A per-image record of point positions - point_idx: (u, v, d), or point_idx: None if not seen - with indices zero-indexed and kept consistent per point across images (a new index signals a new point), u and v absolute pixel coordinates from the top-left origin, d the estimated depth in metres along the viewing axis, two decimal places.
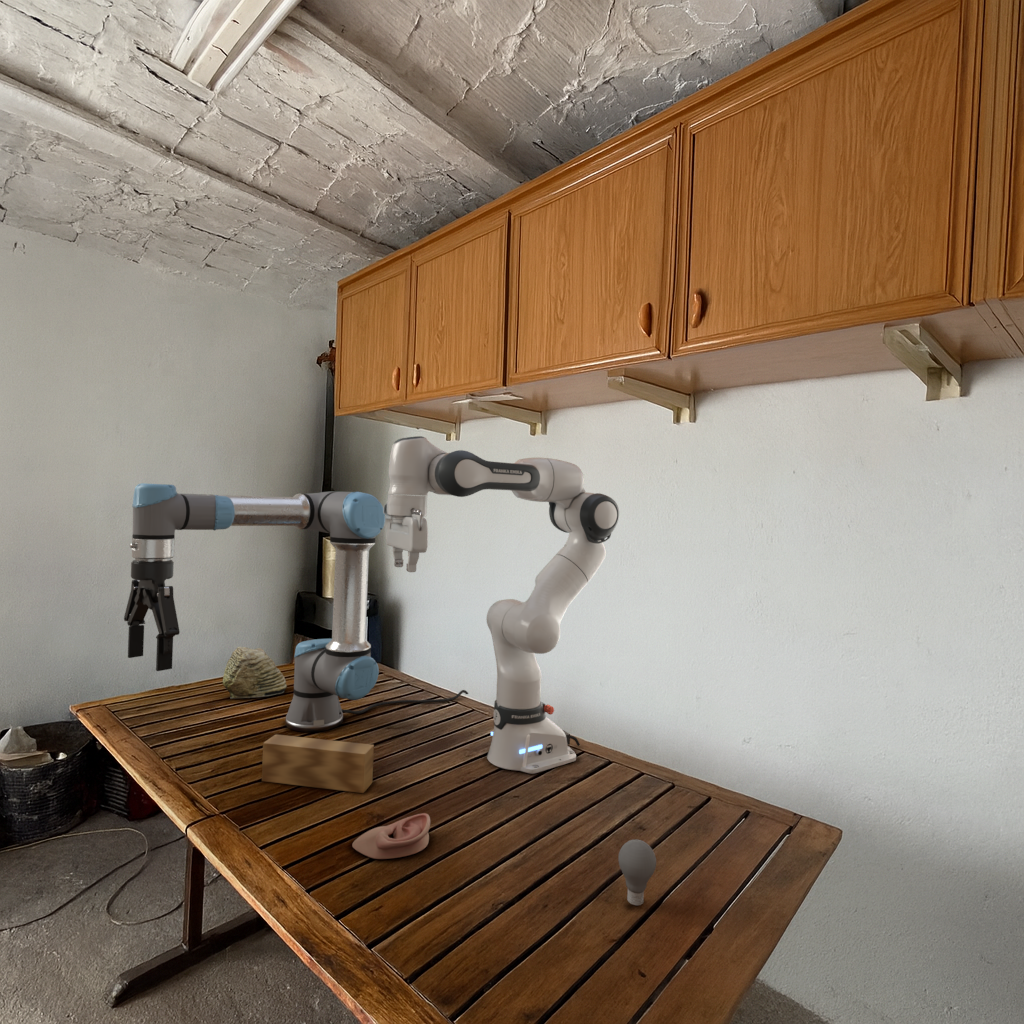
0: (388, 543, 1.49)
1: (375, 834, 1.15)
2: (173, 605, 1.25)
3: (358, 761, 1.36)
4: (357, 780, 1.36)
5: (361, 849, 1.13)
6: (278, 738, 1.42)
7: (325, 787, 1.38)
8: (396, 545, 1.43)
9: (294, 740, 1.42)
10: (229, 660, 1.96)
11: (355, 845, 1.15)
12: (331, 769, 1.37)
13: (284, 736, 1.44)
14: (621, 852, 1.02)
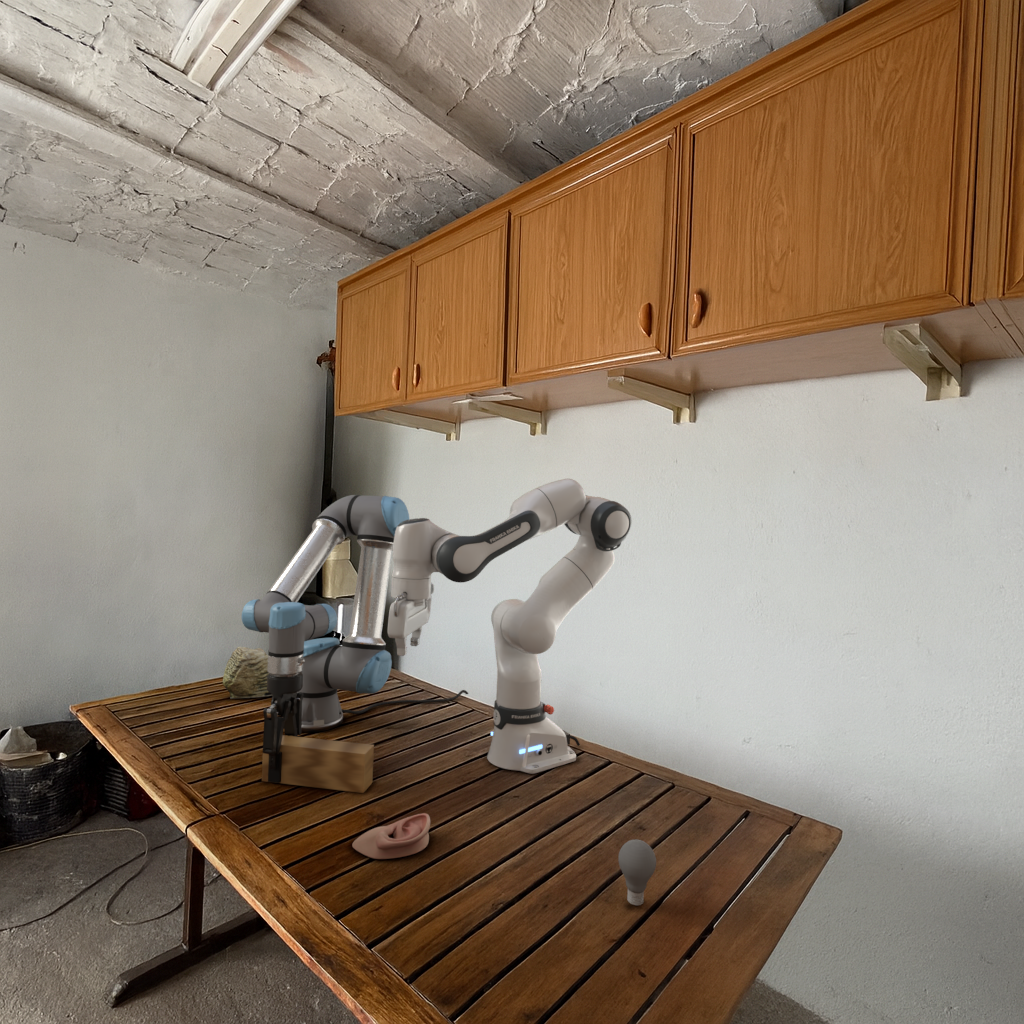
0: None
1: (375, 834, 1.15)
2: None
3: (358, 761, 1.36)
4: (357, 780, 1.36)
5: (361, 849, 1.13)
6: None
7: (325, 787, 1.38)
8: None
9: (294, 740, 1.42)
10: (229, 660, 1.96)
11: (355, 845, 1.15)
12: (331, 769, 1.37)
13: (284, 736, 1.44)
14: (621, 852, 1.02)
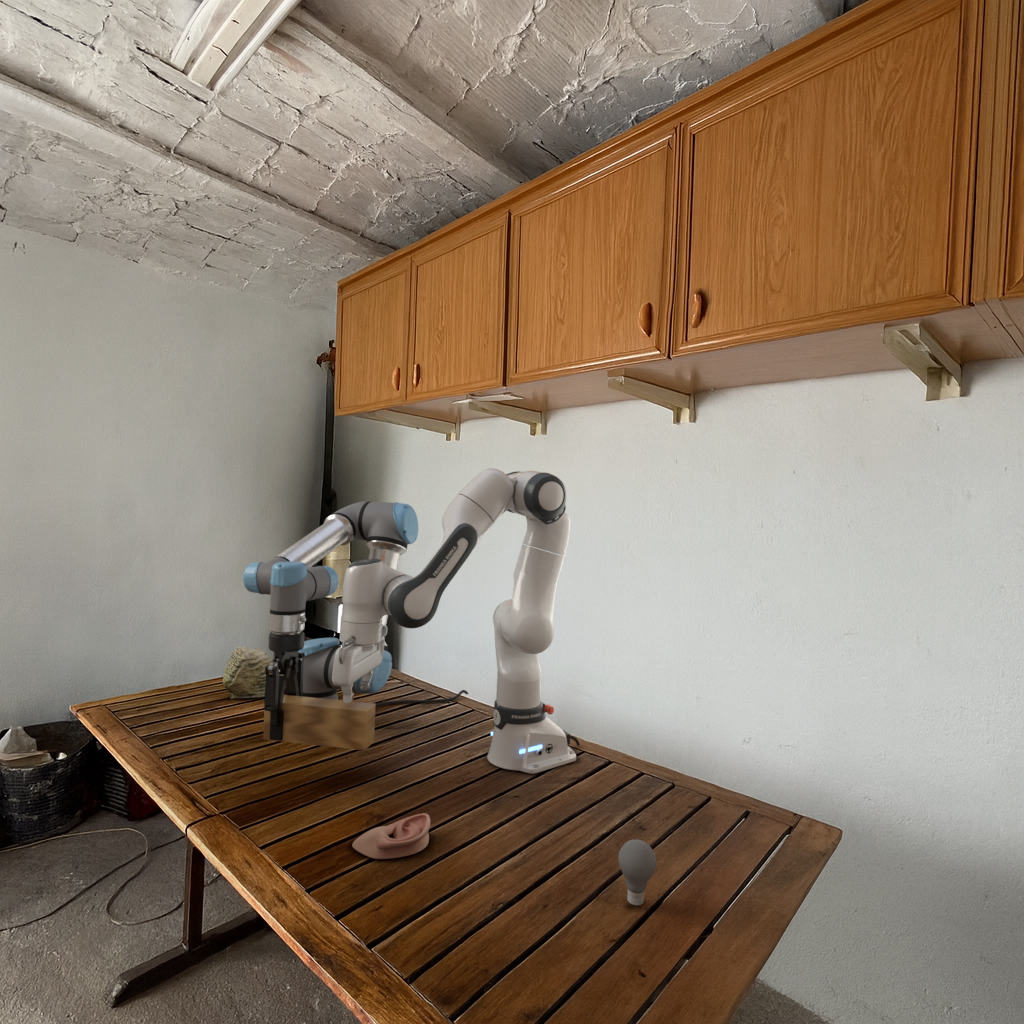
0: None
1: (375, 834, 1.15)
2: None
3: (360, 718, 1.36)
4: (359, 737, 1.36)
5: (361, 849, 1.13)
6: None
7: (327, 745, 1.37)
8: None
9: (296, 699, 1.41)
10: (229, 660, 1.96)
11: (355, 845, 1.15)
12: (332, 726, 1.37)
13: (286, 696, 1.44)
14: (621, 852, 1.02)
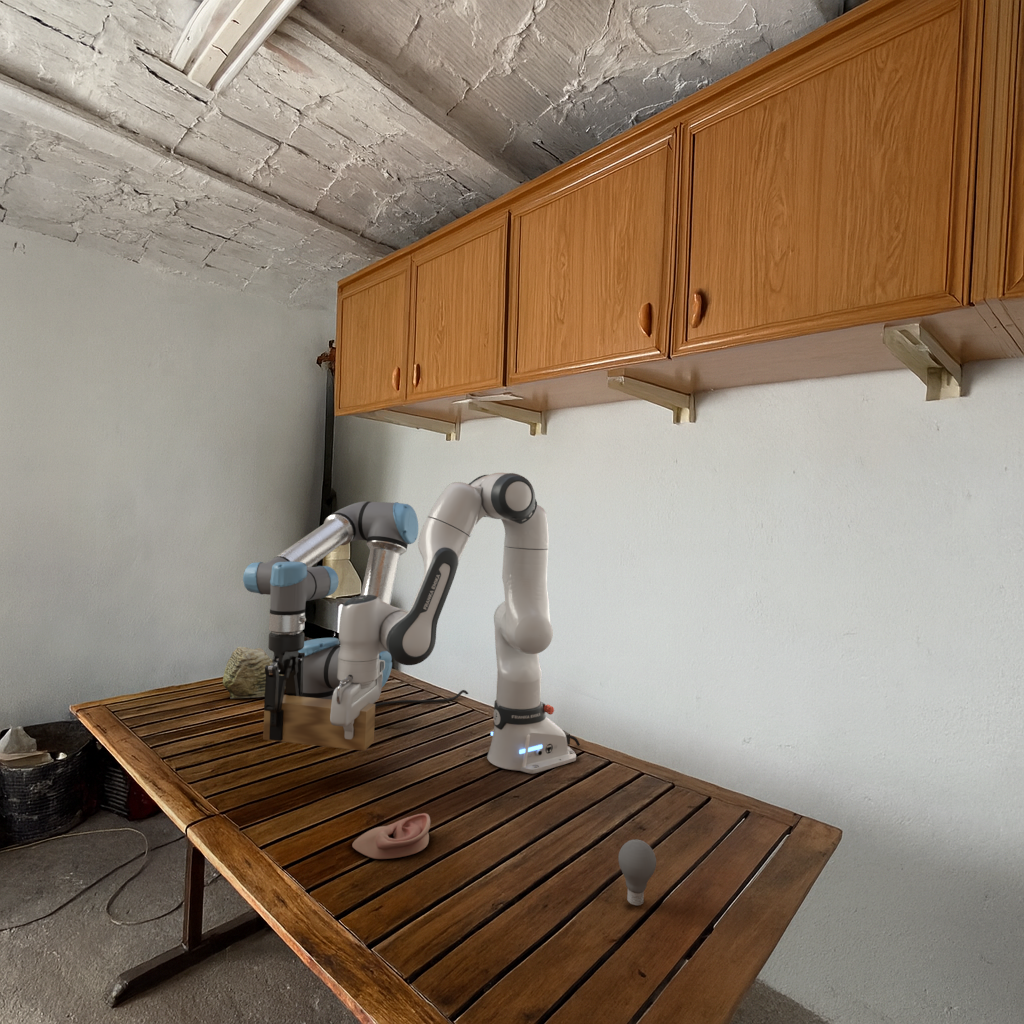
0: None
1: (375, 834, 1.15)
2: None
3: (359, 719, 1.36)
4: (358, 738, 1.36)
5: (361, 849, 1.13)
6: None
7: (326, 745, 1.37)
8: None
9: (296, 699, 1.41)
10: (229, 660, 1.96)
11: (355, 845, 1.15)
12: (332, 727, 1.37)
13: (285, 696, 1.44)
14: (621, 852, 1.02)
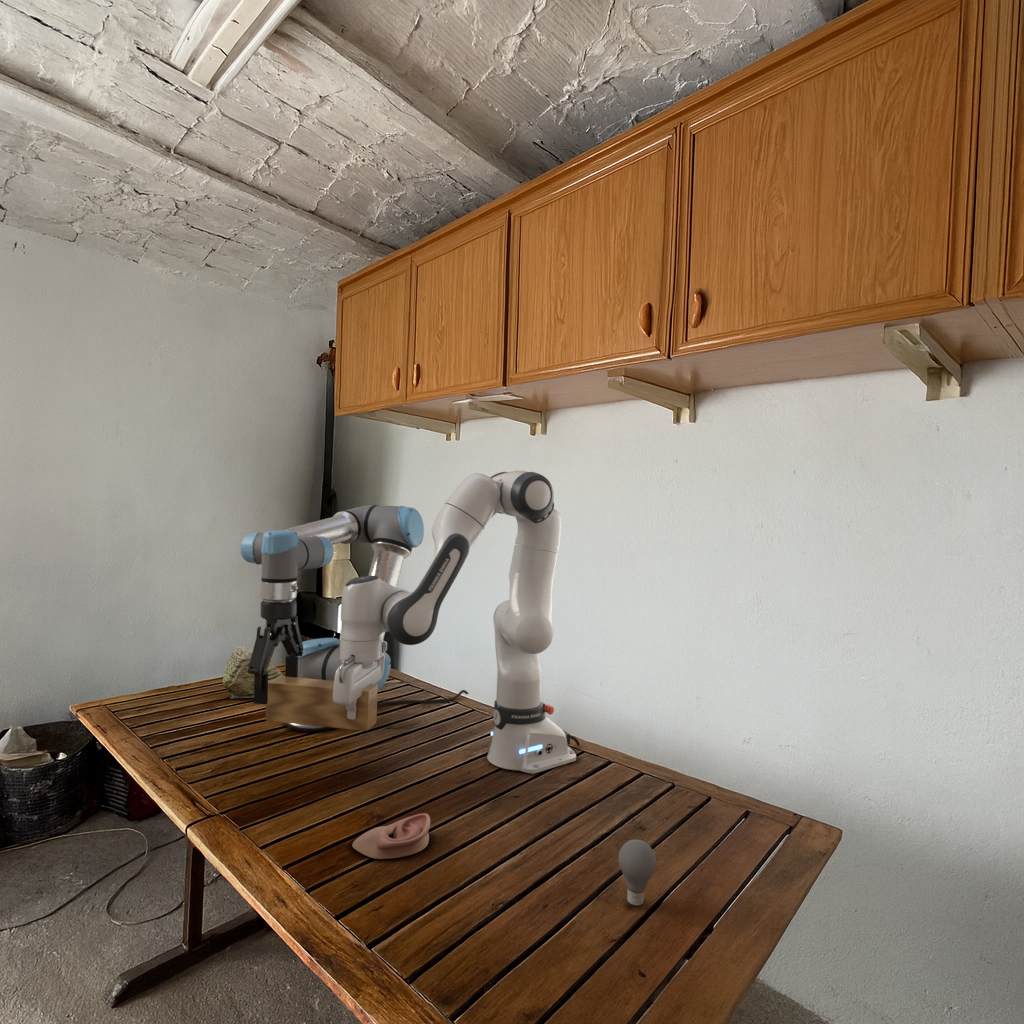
0: None
1: (375, 834, 1.15)
2: None
3: (362, 699, 1.36)
4: (361, 718, 1.36)
5: (361, 849, 1.13)
6: (282, 679, 1.42)
7: (329, 725, 1.37)
8: None
9: (298, 680, 1.41)
10: (229, 660, 1.96)
11: (355, 845, 1.15)
12: (335, 707, 1.37)
13: (288, 677, 1.44)
14: (621, 852, 1.02)
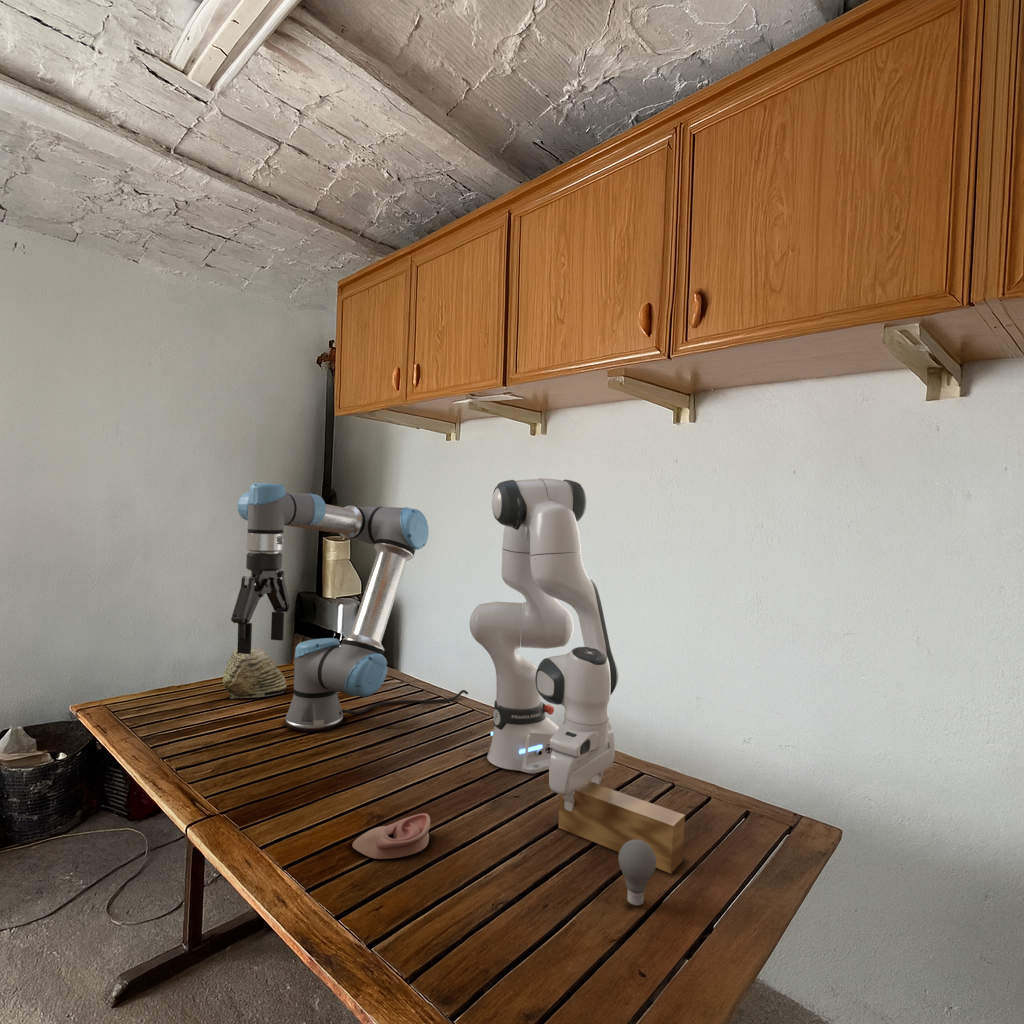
0: (571, 790, 1.18)
1: (375, 834, 1.15)
2: None
3: None
4: None
5: (361, 849, 1.13)
6: (667, 817, 1.14)
7: None
8: (587, 779, 1.23)
9: (648, 809, 1.16)
10: (229, 660, 1.96)
11: (355, 845, 1.15)
12: None
13: (661, 819, 1.13)
14: (621, 852, 1.02)
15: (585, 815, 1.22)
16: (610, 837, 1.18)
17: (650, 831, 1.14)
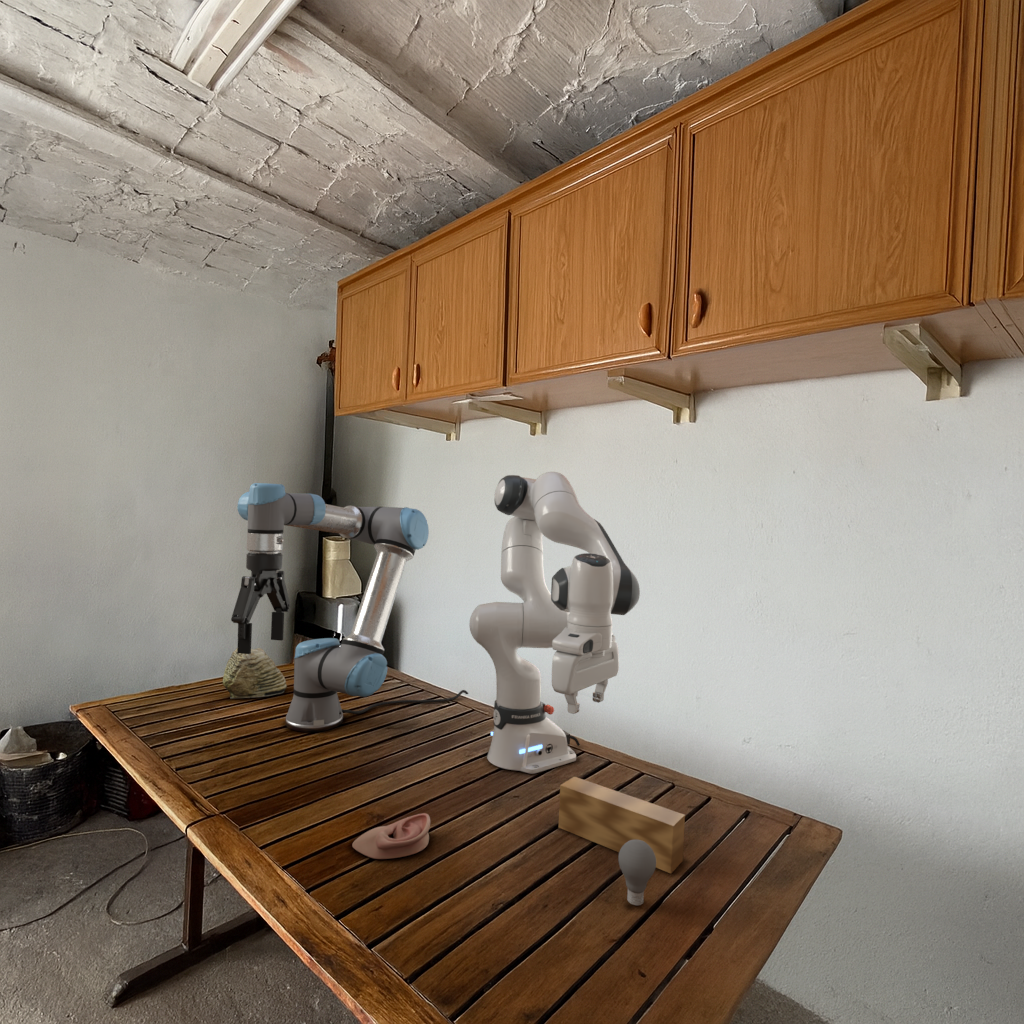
0: (574, 690, 1.18)
1: (375, 834, 1.15)
2: None
3: None
4: None
5: (361, 849, 1.13)
6: (667, 817, 1.14)
7: None
8: (591, 683, 1.23)
9: (648, 809, 1.16)
10: (229, 660, 1.96)
11: (355, 845, 1.15)
12: None
13: (661, 819, 1.13)
14: (621, 852, 1.02)
15: (585, 815, 1.22)
16: (610, 837, 1.18)
17: (650, 831, 1.14)
